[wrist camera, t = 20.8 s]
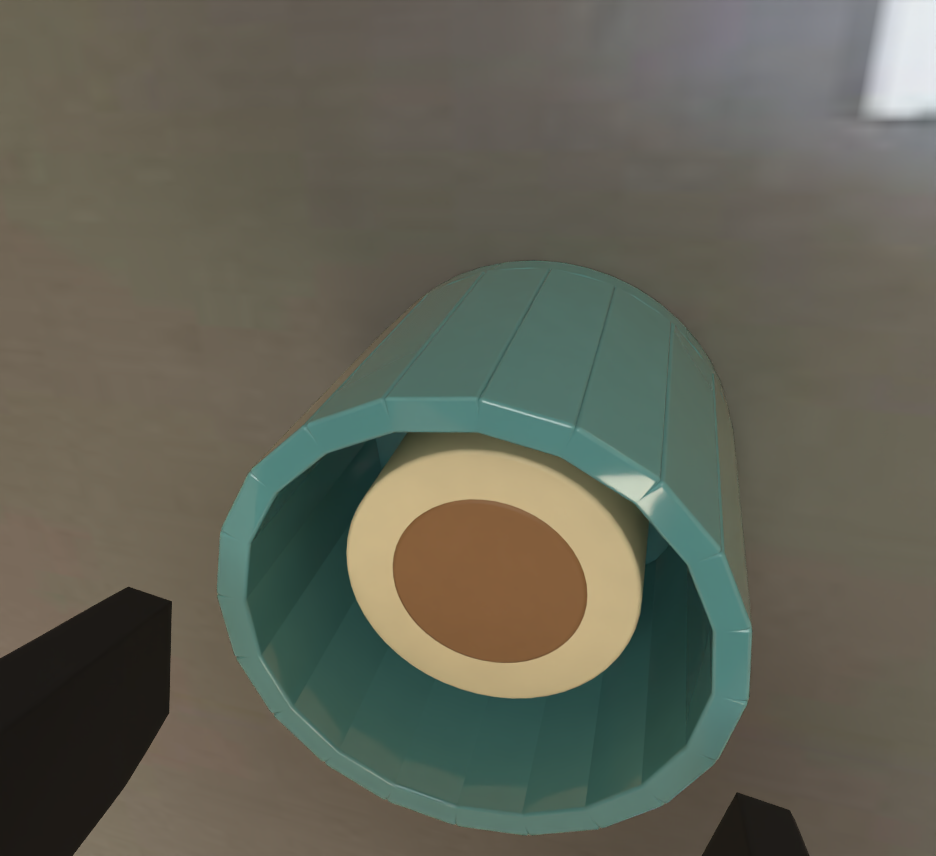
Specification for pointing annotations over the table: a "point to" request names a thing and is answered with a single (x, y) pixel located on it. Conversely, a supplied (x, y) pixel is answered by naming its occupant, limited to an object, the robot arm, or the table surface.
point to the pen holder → (543, 429)
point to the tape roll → (497, 565)
